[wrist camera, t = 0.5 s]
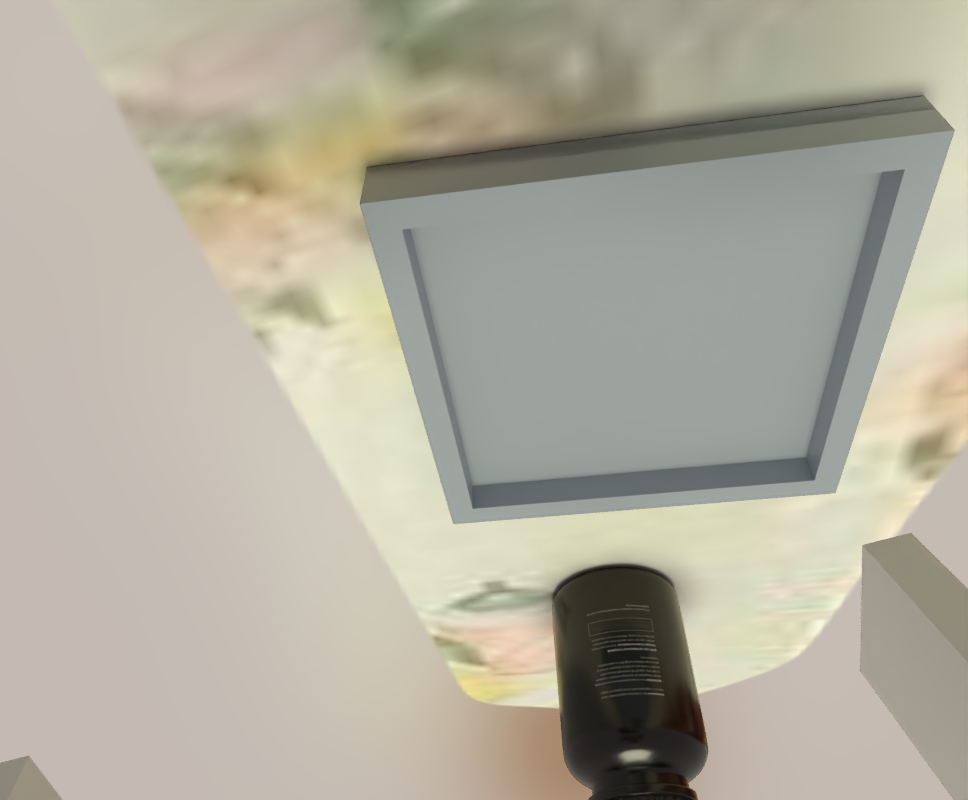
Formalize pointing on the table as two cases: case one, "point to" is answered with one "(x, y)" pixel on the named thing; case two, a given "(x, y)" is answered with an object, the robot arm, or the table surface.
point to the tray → (653, 305)
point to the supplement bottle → (627, 687)
